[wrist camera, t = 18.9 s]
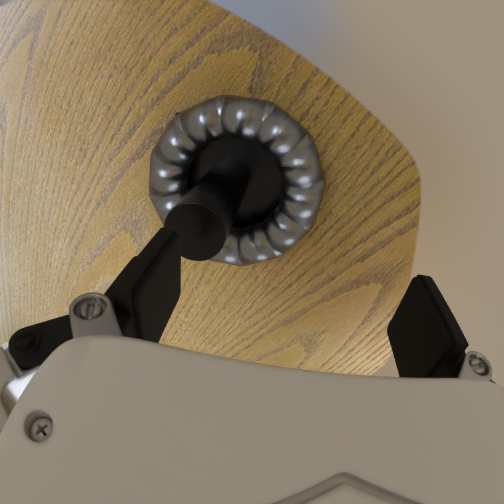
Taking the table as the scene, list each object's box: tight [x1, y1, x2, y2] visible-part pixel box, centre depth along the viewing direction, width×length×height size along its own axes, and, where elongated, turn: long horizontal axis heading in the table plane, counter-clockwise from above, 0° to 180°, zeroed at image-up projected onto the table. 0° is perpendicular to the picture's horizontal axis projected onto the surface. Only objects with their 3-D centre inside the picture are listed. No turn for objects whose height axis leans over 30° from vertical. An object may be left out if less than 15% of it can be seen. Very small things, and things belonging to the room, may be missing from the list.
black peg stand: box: [164, 112, 283, 261], centre depth 18 cm, size 9×9×10 cm
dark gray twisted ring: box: [149, 95, 326, 266], centre depth 20 cm, size 12×12×3 cm
